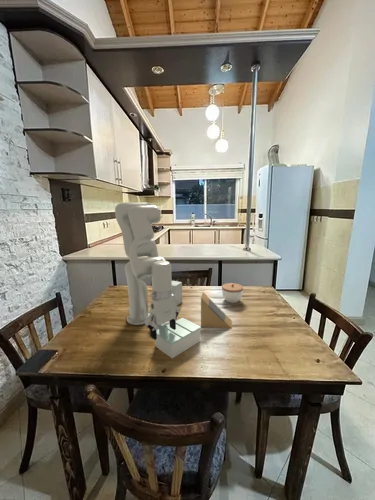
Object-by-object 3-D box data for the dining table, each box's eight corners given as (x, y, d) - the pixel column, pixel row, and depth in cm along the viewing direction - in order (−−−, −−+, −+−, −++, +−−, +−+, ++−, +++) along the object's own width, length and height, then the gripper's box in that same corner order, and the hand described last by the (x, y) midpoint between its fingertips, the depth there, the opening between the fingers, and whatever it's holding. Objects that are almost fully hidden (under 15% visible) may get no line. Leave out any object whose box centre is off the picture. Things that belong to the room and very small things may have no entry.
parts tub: (155, 346, 98) (154, 333, 97) (182, 331, 109) (182, 319, 108) (172, 358, 90) (172, 344, 89) (200, 341, 101) (200, 328, 100)
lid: (153, 333, 97) (153, 320, 95) (182, 319, 108) (182, 307, 107) (171, 345, 88) (171, 331, 87) (201, 328, 100) (201, 316, 99)
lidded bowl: (227, 294, 151) (227, 278, 148) (245, 299, 143) (246, 282, 141) (218, 301, 141) (218, 284, 138) (237, 306, 133) (238, 288, 131)
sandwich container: (232, 329, 111) (233, 299, 108) (200, 326, 113) (200, 298, 110) (232, 320, 119) (232, 292, 116) (202, 318, 121) (202, 291, 118)
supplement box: (182, 301, 141) (182, 282, 138) (175, 306, 135) (175, 286, 132) (173, 299, 145) (172, 280, 142) (165, 303, 139) (165, 283, 136)
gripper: (149, 302, 80) (151, 346, 84) (185, 289, 92) (185, 328, 96) (137, 296, 86) (139, 338, 89) (172, 284, 97) (173, 322, 101)
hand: (163, 333), depth 92 cm, fingers open, 9 cm apart
